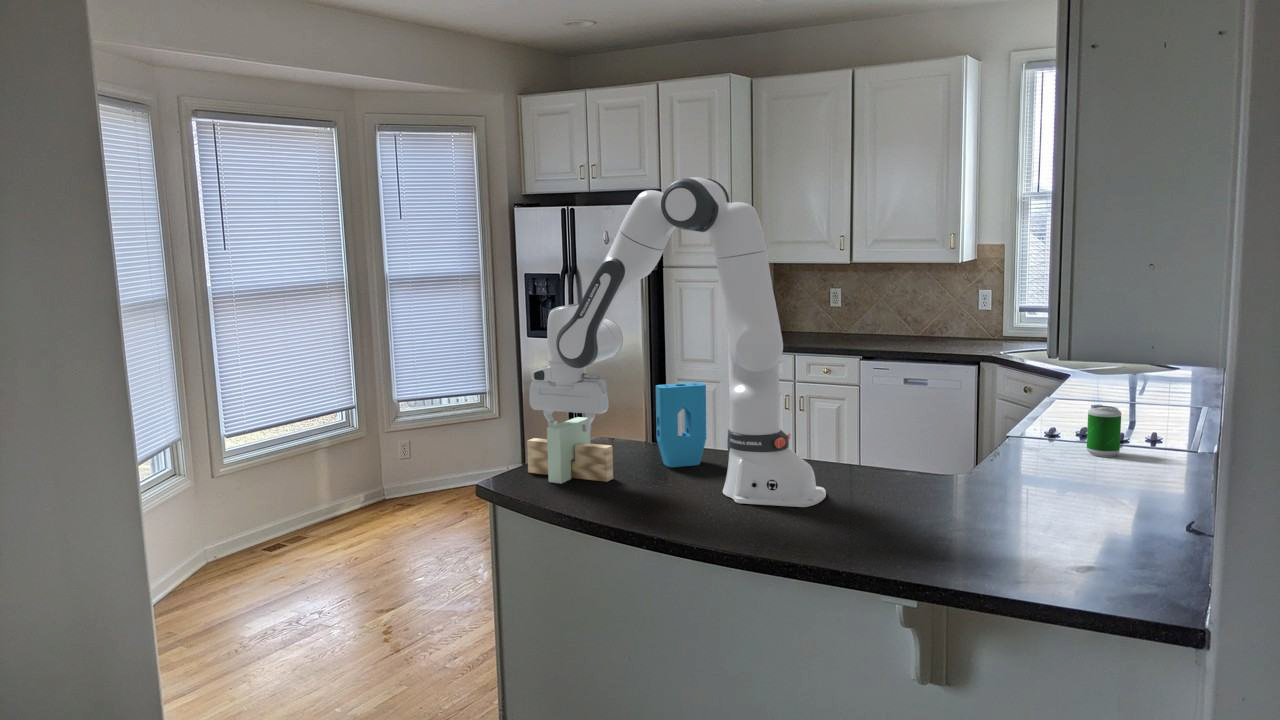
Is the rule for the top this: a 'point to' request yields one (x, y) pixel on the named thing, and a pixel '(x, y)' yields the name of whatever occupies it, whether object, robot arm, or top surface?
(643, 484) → the top surface
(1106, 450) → the soda can
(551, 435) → the sage plate
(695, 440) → the block
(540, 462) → the oak board
